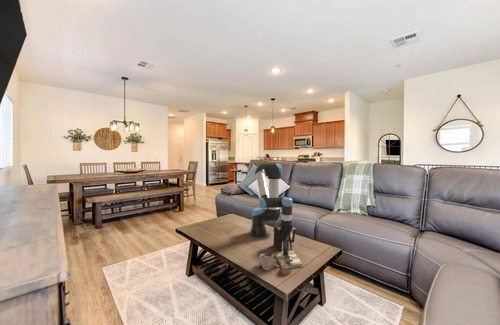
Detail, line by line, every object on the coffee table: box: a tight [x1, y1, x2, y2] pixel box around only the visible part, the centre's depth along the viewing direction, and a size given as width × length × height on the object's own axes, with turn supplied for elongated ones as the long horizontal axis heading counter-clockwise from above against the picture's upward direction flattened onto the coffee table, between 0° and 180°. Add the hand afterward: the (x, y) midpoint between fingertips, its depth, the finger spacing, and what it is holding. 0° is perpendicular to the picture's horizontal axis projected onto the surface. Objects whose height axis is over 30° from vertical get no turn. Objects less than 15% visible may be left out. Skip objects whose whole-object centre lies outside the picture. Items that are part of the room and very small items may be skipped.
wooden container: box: [272, 221, 294, 252], centre depth 170 cm, size 15×15×22 cm
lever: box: [283, 239, 294, 269], centre depth 147 cm, size 19×4×11 cm, turn 2°
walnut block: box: [280, 263, 291, 276], centre depth 138 cm, size 4×4×4 cm
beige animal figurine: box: [256, 252, 280, 271], centre depth 145 cm, size 16×10×10 cm, turn 132°
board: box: [274, 250, 304, 269], centre depth 151 cm, size 20×14×2 cm
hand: (285, 251), depth 155 cm, fingers open, 4 cm apart
